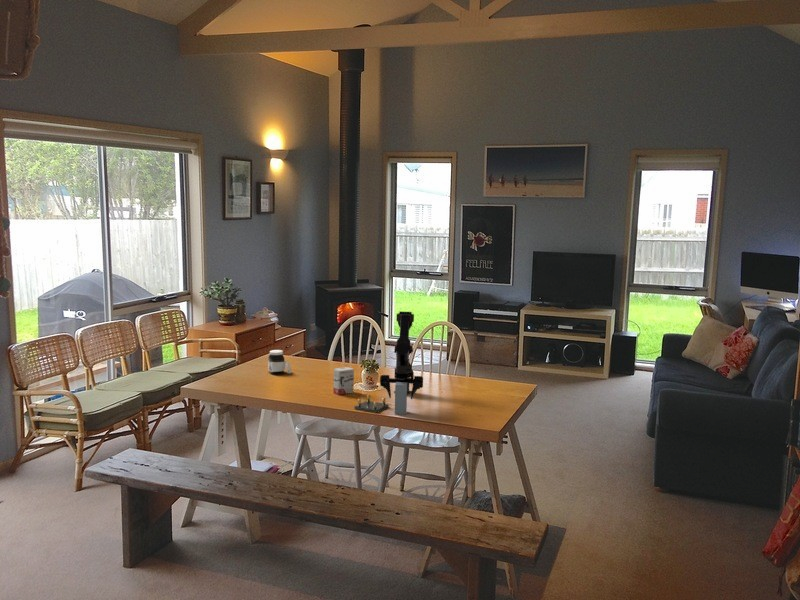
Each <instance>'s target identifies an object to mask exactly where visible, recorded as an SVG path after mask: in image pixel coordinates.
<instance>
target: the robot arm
mask: <svg viewBox="0 0 800 600" xmlns="http://www.w3.org/2000/svg"><path fill="white" fill-rule="evenodd" d="M396 322H397V325H398V327H399V337H398V339H396V344H395V345H394V353H395V357H396V358H395V359H396V363H395V368H394V378H393V377H390V374H381V375H380V376H379V377H380V378H379V383H380V385H379V386H381V387H383V389H385V390H386V392H387V395H388V397H389V399H391V398H392V394H391V392H392V391H391V383H392V384H396V382H407V395H408V394H410V400H413V397H414V395H416V392H418V391H417V390H420V389H421V388H423V387H424V377H423V376H422V375H414V372H415V371H413V365H412V364H411V363H410V355H411V354H412V353H413V352H414V348H413V346H412V345H411V339H410V338H409V337H410V335H409V334H410V330H411V328H412V327H413V323H414V322H415V314H414V313H412V311H399V313H396ZM410 384H411V385H412V389H411V390H410ZM393 393H394V394H395V390H394V391H393Z"/></svg>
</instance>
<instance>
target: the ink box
mask: <svg viewBox="0 0 800 600" xmlns="http://www.w3.org/2000/svg"><path fill="white" fill-rule="evenodd" d="M354 377H355V369H354V368H352V367H349V366H345V367H336V368H334V369H333V393H334V394H336V395H338V396H341V394H342V395H348V394H354V383H355V382H354V380H355V378H354ZM347 393H348V394H347Z"/></svg>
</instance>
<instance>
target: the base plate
mask: <svg viewBox="0 0 800 600" xmlns="http://www.w3.org/2000/svg"><path fill="white" fill-rule="evenodd" d="M370 397H371V395H370V394H367V395H366V400H365V401H364V402H362V403H361V400H362V399H360V398H358V399H357V405H354V410H357V411H362V410H363V411H364V412H367V411H370V412H369V413H373V412H376V413H375V414H377V412H378V411H379V412H381V411H383V410H385V409H387V408H389V404H388V403H386V397H382V402H377V401H372V400H371V398H370ZM382 409H383V410H382ZM380 410H381V411H380ZM379 412H378V413H379Z"/></svg>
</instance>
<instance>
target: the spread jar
mask: <svg viewBox="0 0 800 600" xmlns="http://www.w3.org/2000/svg"><path fill="white" fill-rule="evenodd" d="M267 364H268V365H267V369H268V373H269V374H270V373H271V374H270V375H282V374H283V373H284V372H285V369H286V372H287V374H291V373H292V367H291V364H290V362H289V361H288V360H285V356H284V350H281V349H272V350H270V351H269V355H268V358H267ZM281 373H282V374H281Z"/></svg>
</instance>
